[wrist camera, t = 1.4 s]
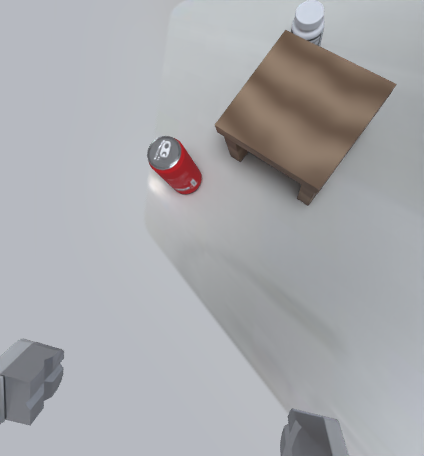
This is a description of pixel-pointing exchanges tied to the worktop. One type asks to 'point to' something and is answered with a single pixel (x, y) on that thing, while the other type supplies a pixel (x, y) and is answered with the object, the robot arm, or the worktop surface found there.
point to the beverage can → (174, 164)
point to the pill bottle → (309, 21)
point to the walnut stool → (302, 111)
